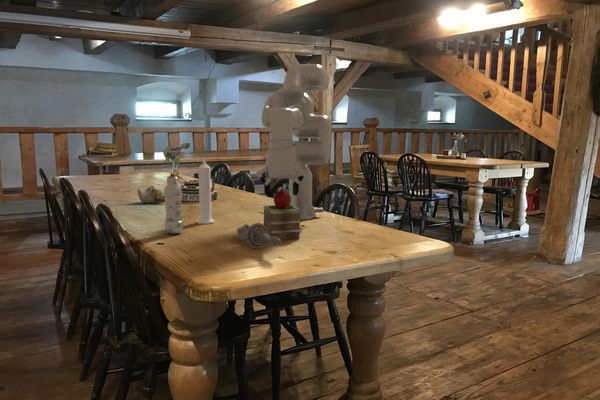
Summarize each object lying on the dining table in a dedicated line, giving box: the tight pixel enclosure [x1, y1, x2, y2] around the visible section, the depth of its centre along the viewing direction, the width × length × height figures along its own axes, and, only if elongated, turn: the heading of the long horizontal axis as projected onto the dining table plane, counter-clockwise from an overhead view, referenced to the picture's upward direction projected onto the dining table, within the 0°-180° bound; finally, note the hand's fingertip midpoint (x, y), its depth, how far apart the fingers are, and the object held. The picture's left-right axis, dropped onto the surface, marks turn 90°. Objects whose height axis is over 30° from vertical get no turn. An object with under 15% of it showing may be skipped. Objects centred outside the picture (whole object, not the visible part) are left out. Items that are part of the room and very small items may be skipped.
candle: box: [196, 158, 216, 225], centre depth 193 cm, size 7×7×25 cm
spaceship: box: [236, 222, 283, 250], centre depth 155 cm, size 8×35×8 cm
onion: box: [273, 186, 291, 210], centre depth 170 cm, size 6×6×8 cm
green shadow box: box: [263, 204, 301, 241], centre depth 170 cm, size 10×11×10 cm
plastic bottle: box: [162, 176, 184, 235], centre depth 174 cm, size 6×7×20 cm
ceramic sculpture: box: [137, 185, 165, 204], centre depth 241 cm, size 11×9×15 cm
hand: (281, 195), depth 170 cm, fingers open, 9 cm apart
